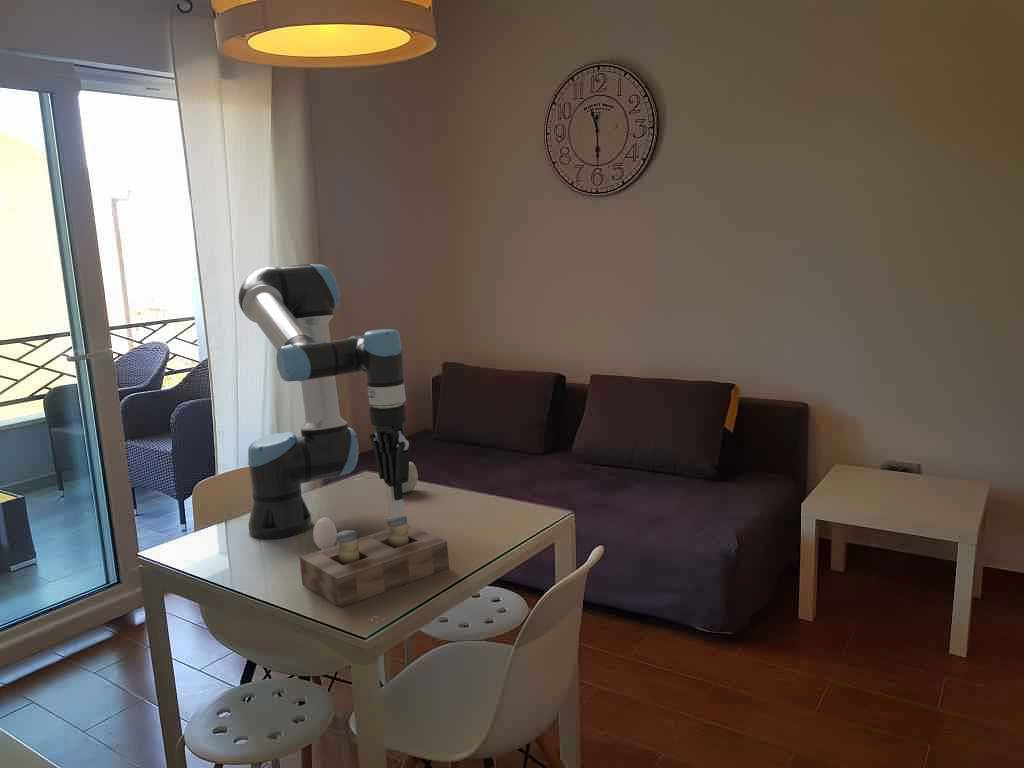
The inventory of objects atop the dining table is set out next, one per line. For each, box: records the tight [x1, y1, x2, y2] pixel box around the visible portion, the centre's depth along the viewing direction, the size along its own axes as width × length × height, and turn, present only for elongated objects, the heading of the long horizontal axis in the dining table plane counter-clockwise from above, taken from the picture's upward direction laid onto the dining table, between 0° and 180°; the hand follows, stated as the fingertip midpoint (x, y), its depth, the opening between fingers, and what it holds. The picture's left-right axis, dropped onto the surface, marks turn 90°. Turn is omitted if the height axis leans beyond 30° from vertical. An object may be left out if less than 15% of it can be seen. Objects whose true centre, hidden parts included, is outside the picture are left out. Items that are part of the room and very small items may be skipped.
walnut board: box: [299, 524, 450, 609], centre depth 172 cm, size 16×26×6 cm, turn 131°
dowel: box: [336, 529, 360, 565], centre depth 167 cm, size 4×4×6 cm
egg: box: [312, 517, 338, 550], centre depth 188 cm, size 5×5×8 cm
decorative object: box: [402, 461, 419, 494], centre depth 228 cm, size 9×9×10 cm
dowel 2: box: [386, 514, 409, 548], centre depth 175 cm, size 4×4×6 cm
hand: (396, 513), depth 174 cm, fingers closed
